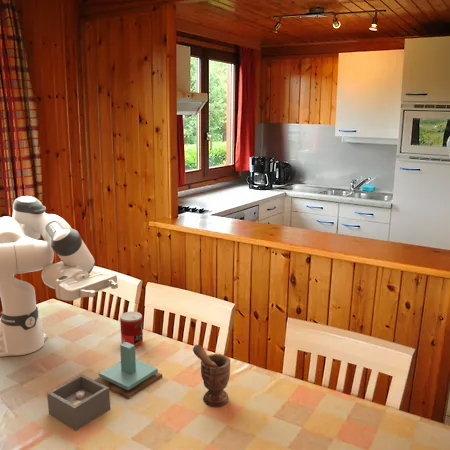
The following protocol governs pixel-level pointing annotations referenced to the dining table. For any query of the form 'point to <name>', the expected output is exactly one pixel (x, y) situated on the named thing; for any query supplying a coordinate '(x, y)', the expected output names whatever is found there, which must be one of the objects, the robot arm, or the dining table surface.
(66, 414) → the tub
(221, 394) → the mortar and pestle
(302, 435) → the dining table surface
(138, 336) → the canned food
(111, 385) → the board
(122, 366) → the lid
